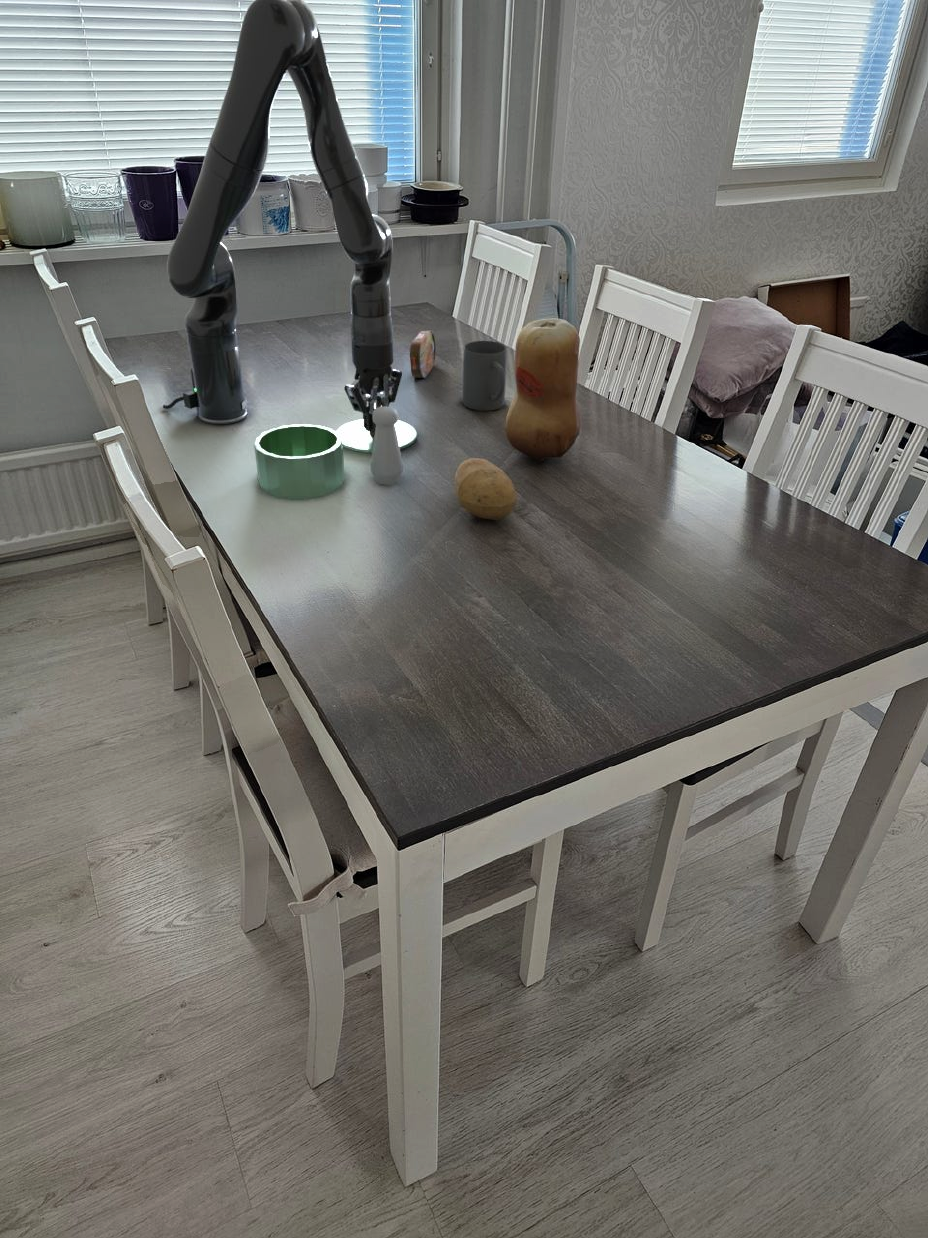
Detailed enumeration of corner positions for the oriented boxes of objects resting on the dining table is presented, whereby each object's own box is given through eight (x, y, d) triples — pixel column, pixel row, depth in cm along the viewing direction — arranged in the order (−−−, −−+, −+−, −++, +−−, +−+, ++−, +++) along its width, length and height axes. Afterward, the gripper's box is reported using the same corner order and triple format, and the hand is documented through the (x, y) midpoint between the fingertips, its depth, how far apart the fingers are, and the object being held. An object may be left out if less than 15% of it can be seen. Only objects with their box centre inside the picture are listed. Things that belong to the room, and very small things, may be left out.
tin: (421, 382, 192) (421, 345, 188) (408, 381, 193) (407, 344, 188) (436, 362, 205) (436, 326, 200) (423, 361, 205) (423, 325, 200)
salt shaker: (370, 472, 153) (367, 402, 146) (403, 472, 154) (401, 402, 146) (370, 487, 148) (367, 415, 141) (403, 486, 149) (402, 415, 141)
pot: (243, 491, 146) (237, 450, 142) (285, 458, 158) (281, 419, 153) (321, 505, 142) (317, 464, 138) (357, 470, 154) (355, 431, 150)
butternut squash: (489, 456, 160) (494, 320, 146) (534, 436, 168) (543, 305, 154) (547, 479, 152) (559, 337, 138) (591, 457, 161) (607, 322, 146)
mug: (455, 398, 185) (456, 342, 178) (493, 393, 188) (495, 338, 181) (481, 421, 174) (483, 362, 167) (521, 415, 177) (524, 357, 171)
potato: (473, 538, 134) (474, 492, 130) (442, 500, 145) (443, 456, 140) (529, 528, 137) (533, 483, 133) (495, 491, 148) (497, 448, 143)
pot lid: (322, 448, 162) (319, 414, 158) (356, 419, 174) (354, 387, 170) (398, 460, 158) (397, 426, 154) (428, 430, 170) (428, 397, 166)
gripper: (383, 325, 161) (386, 413, 171) (329, 342, 152) (335, 434, 162) (413, 333, 157) (414, 423, 167) (359, 350, 148) (364, 444, 158)
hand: (375, 428), depth 164 cm, fingers closed on pot lid, 2 cm apart
